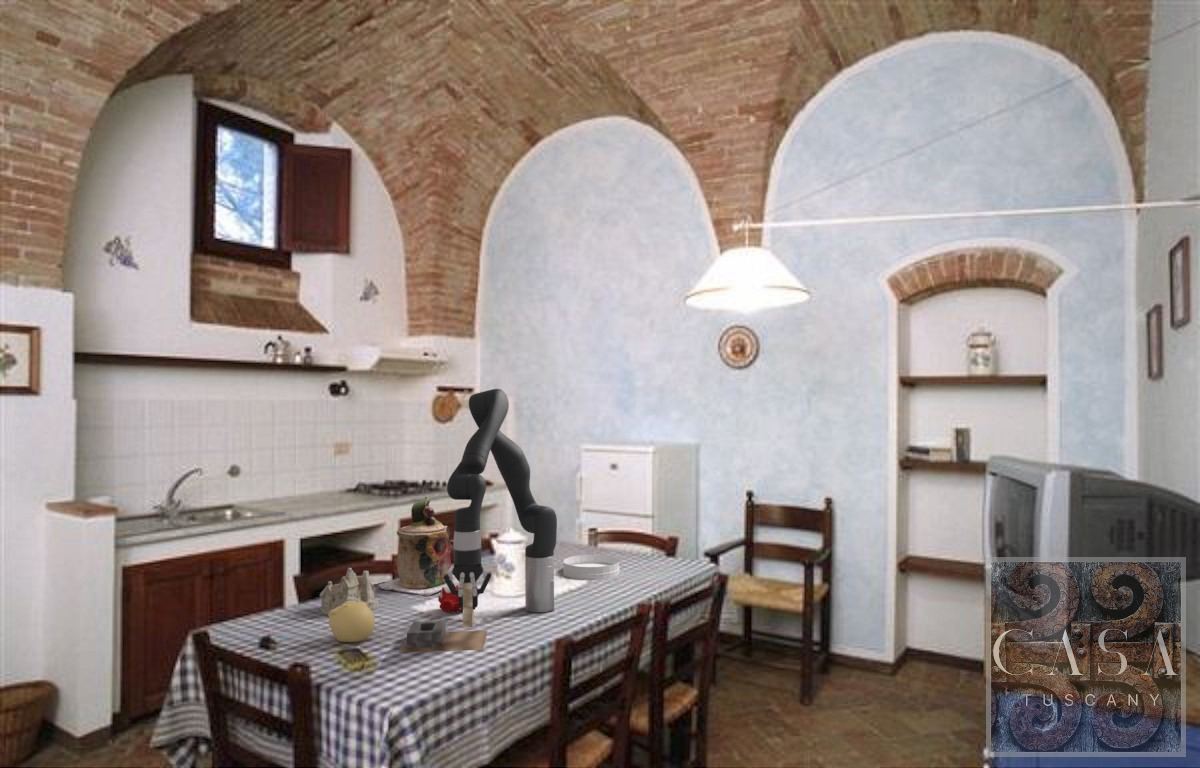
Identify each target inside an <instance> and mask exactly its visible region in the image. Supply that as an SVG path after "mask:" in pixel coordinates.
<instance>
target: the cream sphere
mask: <svg viewBox="0 0 1200 768" xmlns="http://www.w3.org/2000/svg"><path fill="white" fill-rule="evenodd" d="M327 616H328V626H329V628H330V629H331V632H332V635H333V637H334V638H335V639H336V640H337V641H338V642H342V643H357V642H363V641H365V640H367V639H368V638H369V637H371V635H372V633H373V631H374V629H375V625H376V624H375V623H376V620H375V615H374V613H373V610H372V611H371V609H370V608H369V607H368V606H367V603H365V602H362V601H358V602H355V601H346V602H345V603H343V604H342V605H341V606H339V607H337V608H335V609H333V610H331V611H330V612H329V614H328V615H327Z"/></svg>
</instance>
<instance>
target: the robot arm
mask: <svg viewBox="0 0 1200 768" xmlns="http://www.w3.org/2000/svg"><path fill="white" fill-rule="evenodd" d="M509 406H510V405H509V398H508V395H507V393H506V392H505V391H504V390H502V389H501V388H492V389H489V390H484V391H480V392H477V393H474V394H472V395H471V396H470V397H469V400H468V408H469V411H470V414H471V416H472V418H473V421H474V422H475V424H476V426H477V427H478V429H477V430H476V431H475V432H474V433H473V435H472V436H471V437H470V438H469V440H468V442H467V443H466V445H465V449H464V451H463V454H462V457H461V461H460V462H459V464H458V465H457V466H456V468H455V470H454V471H453V472H452V473H451V475H450V477H449V478H448V481H447V484H446V491H447V495H448V496H449V498H450V499H452V500H456V501H464V500H465V501H470V504H469V506H466V507H462V508H457V509H456V510H455V511H454V515H453V517H454V519H453V522H454V531H453V541H454V543H453V568H452V570H451V571H449V572H448V573H446V574H445V575H444V580H445V582H446V584H447V586H448V587H449V589H450V591H451V593H452V594H453V595H457V596H458V597H459V608H461V611H463V583H464V582H471V583H472V592H473V610H476V608H478V605H479V595H482V594H484V592H485V590H486V588H487V586H488V584H489V582H490V580H491V578H492V575H493V573H492V571H487V570H485V569H484V567H483V565H482V535H481V511H482V506H483V502H484V498H485V494H486V490H487V483H486V479H485V478H484V476H482V475H481V474H482V473H483V472H484V471H485V470H486V467H487V466H486V465H487V462H488V459H489V455H490V452H491V454H492V456H493V459H494V462H495V465H496V466H497V469H498V471H499V474H500V475H501V477H502V479H503V481H504V483H505V485H506V488H507V491H508V493H509V495H510V498H511V499H512V502H513V505H514V507H515V512H516V515H517V517H518V520H519V523H520V526H521V527H522V529H523V530H524V531H526V532H527V533H530V534H533V542H532V543H531V544H528V545H527V546H526V547H525V549H524V550H525V551H524V552H525V553H524V555H525V556H524V557H525V561H524V562H525V563H524V565H525V581H524V582H525V584H524V587H525V598H524V599H525V602H524V603H525V610H526V611H527V612H531V613H547V612H551V611H555V576H554V575H555V565H554V563H555V560H554V558H555V557H554V555H555V553H554V552H555V549H556V545H557V535H558V534H557V530H558V529H557V528H558V518H557V514H556V512H555V509H553V508H552V507H550V506H546V505H540V504H538V503H537V502H536V500H535V498H534V496H533V494H532V491H531V489H530V488H531V486H530V483H531V468H530V465H529V462H528V460H527V458H526V455H525V453H524V451H523V449H522V448H521V447H520V446H519V445H518V444H517V443H516V442H515V441H514V440H512V439H511V438H509V437H508V436H506V434H504V433H503V432H502V431H501V430H500V429H501V428H502V425H503V423H504V421H505V419H506V417H507V415H508V411H509V409H510V407H509ZM453 575H454V576H455V577H456V579H457V580H458V581H459V590H458V589H456V587H455V585H454V583H453V581H452V579H453ZM481 576H482V579H483V581H482V584H481V585H480V587H478V580H479V579H480V577H481ZM477 587H478V589H477Z"/></svg>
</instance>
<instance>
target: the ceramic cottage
mask: <svg viewBox="0 0 1200 768" xmlns="http://www.w3.org/2000/svg"><path fill="white" fill-rule="evenodd" d="M376 590H377V588H375V586H374V584H372V582H371V578H370V572H369V570H363V572H362V576H359V575H357V574H356V572H354V570H353V569H352V567H348V568H347V571H346V575H344V576H342V577H341V579H340V581H339V583H334V584H333V582H332V581H330V580H329V581H327V585H325V587H324V589H323V590H322V591H321V592H320V594H319V597H320V600H321V605H320V609H319V611H321V613H322V614H324V615H327V616H329V615H328V614H329V612H330V611H331V610H333V609H335V608H337V607H339V606H341V605H342V604H343V603H345V602H346V601H355V602H358V601H362V602H365V603H367V606H368V607H369V608H370V609H371V611H372V612H373V611H375V610H377V609H379V608H380V606H379V601H378V599H376V596H377V594H376V593H375V592H376Z"/></svg>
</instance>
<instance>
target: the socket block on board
mask: <svg viewBox="0 0 1200 768" xmlns="http://www.w3.org/2000/svg"><path fill="white" fill-rule="evenodd" d="M446 622H447V621H446V620H433V621H432V620H430V621H413V622H412V623H411V625H410V627H409V629H408V631H407V633H406V639H405V641H404V643H402V645H401V646H402V647H401V648H400V650H399V651H398V653H422V652H423V653H424V652H448V651H449V652H451V651H453V652H454V651H481V650H482V651H483V650H484V648H485V645H486V644H485V643H486V640H487V635H488V630H487V629H486V630H459V631H446V628H447V627H446V626H447V625H446V624H447V623H446Z"/></svg>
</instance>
